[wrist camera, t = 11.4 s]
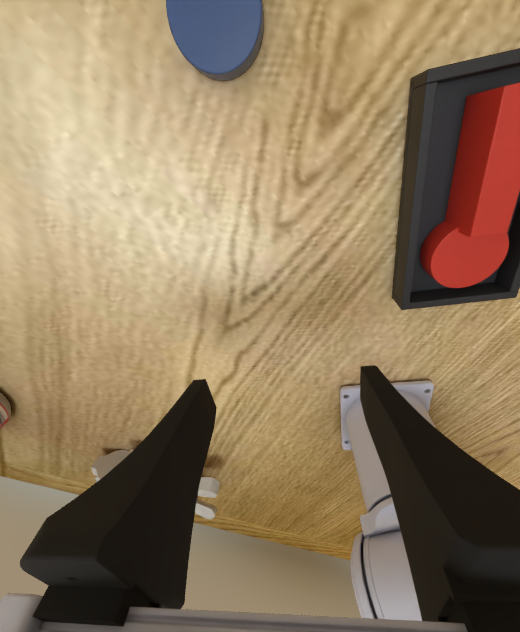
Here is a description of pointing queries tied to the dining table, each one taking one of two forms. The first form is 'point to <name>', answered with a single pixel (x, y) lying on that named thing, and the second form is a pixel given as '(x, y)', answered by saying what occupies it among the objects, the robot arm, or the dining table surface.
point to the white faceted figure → (206, 489)
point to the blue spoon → (217, 34)
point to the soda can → (4, 410)
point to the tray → (445, 179)
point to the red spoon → (479, 192)
